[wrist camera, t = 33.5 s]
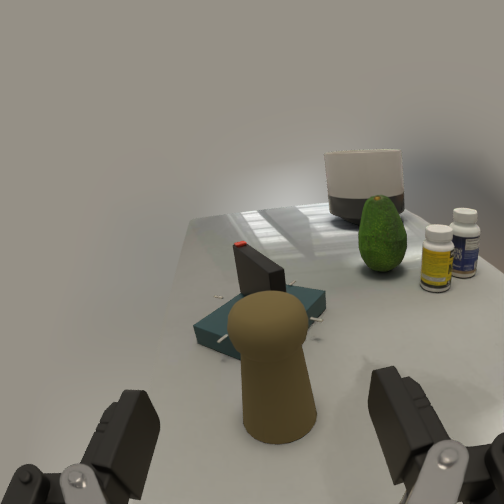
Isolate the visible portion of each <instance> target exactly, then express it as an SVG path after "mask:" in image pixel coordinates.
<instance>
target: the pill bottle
mask: <svg viewBox="0 0 504 504" xmlns="http://www.w3.org/2000/svg"><path fill="white" fill-rule="evenodd" d="M453 219H454V222H453V223H451V224H450V226H449V227H451V228H452V229H453V238H452V240H451V241H452V242H453V244H454V255H453V266H452V275H453V276H456V277H461V278H466V277H471V276H473V275H474V274H475V272H476V267H477V260H478V251H479V241H480V228H479V227H478V226H477V225H476V224H475V222H476V221H477V211H475V210H473V209H468V208H456V209H454V211H453Z"/></svg>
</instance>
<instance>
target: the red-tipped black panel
mask: <svg viewBox="0 0 504 504" xmlns="http://www.w3.org/2000/svg"><path fill="white" fill-rule="evenodd" d="M233 250H234V256H235V262H236V268H237V274H238V280H239V286H240V292H241V293H242V294H243V295H244V297H246V296H248V295H250V294H253V293H257V292H262V291H281V292H286V282H285V273H284V269H283V268H282V267H281V266H279V265H278V264H276V263H275V262H273V261H272V260H270V259H269V258H267V257H266V256H264V255H263V254H261V253H260V252H258V251H257V250H255V249H254V248H252V247H251V246H249V245H248V244H247V243H246V242H245V241H241V242H237V243H234V245H233ZM286 293H287V292H286Z"/></svg>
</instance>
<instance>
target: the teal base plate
mask: <svg viewBox="0 0 504 504" xmlns="http://www.w3.org/2000/svg"><path fill="white" fill-rule="evenodd" d="M295 282H296V281H294V280H293V281H292V282H291V283H290V284H289V285H286V292H287V293H289V294H291V295H294V296H295V297H296V298H298V299H299V300H300V302H301V303H302V304H303V305H304V308H305V310H306V313H307V316H308V325H309V326H308V328H309V327H310V326H311V325H312V323H313V322H314V321H317V322H322V321H323V319H318V317H319V315H320V314H321V313H322V312H323V311H324V310H325V309H326V297H325V291H323V290H316V289H310V288H304V287H298V286H292V285H293V284H294V283H295ZM214 297H215V298H219V299H223V297H222V296H218V295H215V296H214ZM242 298H244V295H243V294H242V293H240V294H239V295H237V296H236V297H234V298H233V299H232V300H230V301H229V302H227V303H226V304H224V305H223V306H221V307H220V308H218V309H217V310H215V311H214V312H212V313H211V314H209V315H208V316H206V317H205V318H203V319H202V320H200V321H199V322H198V323H196V324H195V325H193V327H194V331H195V334H196V338H197V342H198V343H199V344H201V345H204V346H206V347H209V348H211V349H214V350H216V351H219V352H221V353H224V354H226V355H229V356H232V357H234V358H237V359H239V360H241V353H239V352H238V351H237V350H236V349H235V347H234V345H233V344H232V342H231V340H230V338H229V336H228V331H227V323H228V315H229V313H230V310H231V308H232V307H233V305H234V304H235V303H236V302H238V301H239V300H240V299H242Z"/></svg>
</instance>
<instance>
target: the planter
mask: <svg viewBox="0 0 504 504" xmlns="http://www.w3.org/2000/svg"><path fill="white" fill-rule="evenodd" d="M324 159H325V168H326V177H327V188H328V199H329V211H330V213H331V214H333V215H335V216H339V217H341V218H343V219H344V220H346V221H348V222H351V223H353V224H357V225H360V222H361V217H362V211H363V207H364V204H365V202H366V201H367V200H368V199H369V198H370V197H371V196H375V195H384V196H387V197H388V198H389V199H390V200H391V201H392V202H393V203H394V205H395V207H396V209H397V211H398V213H399V214H400V213H402V212H403V211H404V183H403V166H402V153H401V150H399V149H371V150H370V149H369V150H350V151H336V152H328V153H324Z"/></svg>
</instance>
